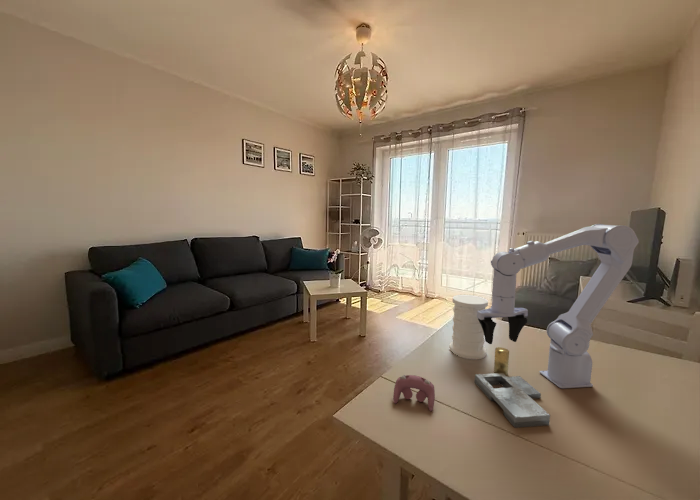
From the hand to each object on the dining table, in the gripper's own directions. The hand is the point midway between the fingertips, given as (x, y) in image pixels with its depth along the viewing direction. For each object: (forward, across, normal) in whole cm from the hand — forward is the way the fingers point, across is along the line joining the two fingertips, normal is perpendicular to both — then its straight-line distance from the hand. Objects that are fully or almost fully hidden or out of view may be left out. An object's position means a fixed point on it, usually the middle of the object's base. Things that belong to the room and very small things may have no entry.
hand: (500, 341), depth 83 cm
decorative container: (+10, +1, -15) cm, 18 cm away
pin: (+10, -1, 0) cm, 10 cm away
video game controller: (+10, +29, +8) cm, 31 cm away
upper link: (+10, +6, +12) cm, 16 cm away
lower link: (+10, +3, +7) cm, 13 cm away
